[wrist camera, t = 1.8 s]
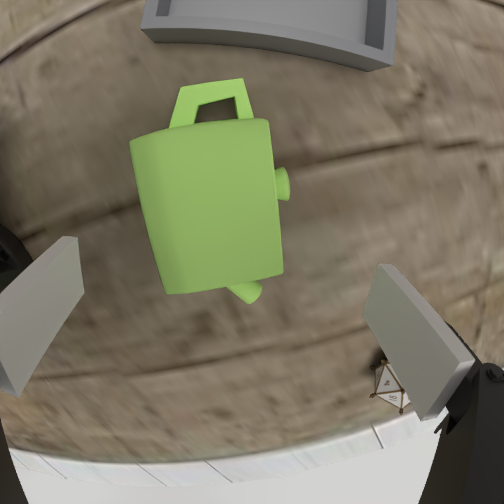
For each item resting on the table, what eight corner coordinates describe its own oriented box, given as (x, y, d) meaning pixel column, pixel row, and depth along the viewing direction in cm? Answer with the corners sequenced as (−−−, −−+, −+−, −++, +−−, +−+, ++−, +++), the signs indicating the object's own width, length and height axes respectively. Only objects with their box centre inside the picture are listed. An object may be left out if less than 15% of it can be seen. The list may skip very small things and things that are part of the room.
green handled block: (284, 267, 32) (309, 325, 23) (187, 283, 31) (181, 346, 23) (264, 82, 24) (291, 67, 15) (150, 100, 23) (119, 94, 15)
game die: (369, 340, 41) (366, 361, 32) (426, 333, 38) (438, 352, 29) (371, 396, 40) (367, 428, 31) (426, 390, 37) (435, 421, 28)
